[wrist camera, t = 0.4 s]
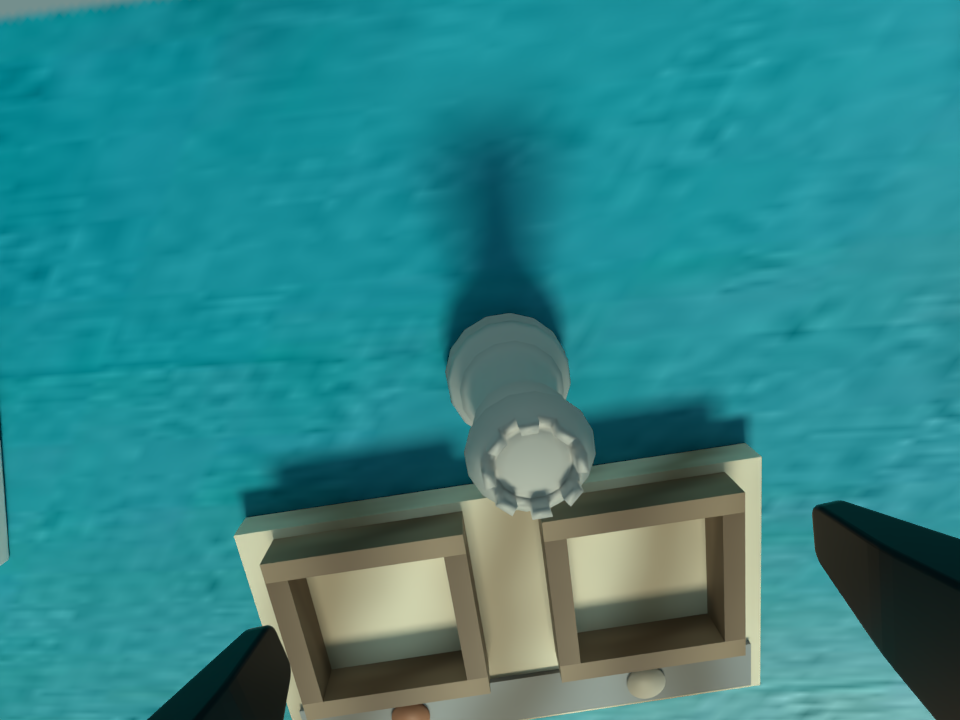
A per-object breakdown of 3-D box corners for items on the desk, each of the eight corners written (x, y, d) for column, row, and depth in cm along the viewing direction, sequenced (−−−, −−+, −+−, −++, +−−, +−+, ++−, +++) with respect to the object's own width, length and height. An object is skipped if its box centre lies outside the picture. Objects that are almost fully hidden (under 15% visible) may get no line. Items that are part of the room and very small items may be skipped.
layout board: (745, 442, 21) (784, 476, 19) (745, 662, 24) (780, 716, 22) (245, 517, 21) (216, 561, 19) (310, 727, 25) (292, 789, 22)
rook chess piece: (420, 367, 20) (397, 470, 12) (509, 284, 19) (545, 339, 12) (501, 446, 21) (528, 587, 13) (589, 370, 20) (669, 473, 13)
